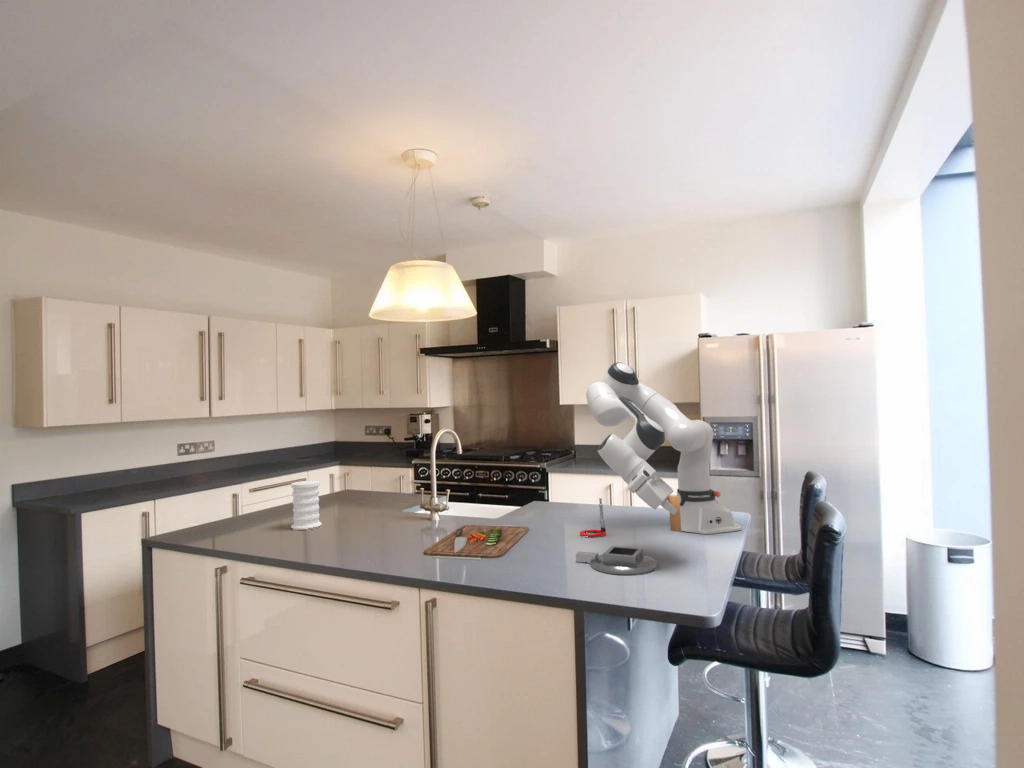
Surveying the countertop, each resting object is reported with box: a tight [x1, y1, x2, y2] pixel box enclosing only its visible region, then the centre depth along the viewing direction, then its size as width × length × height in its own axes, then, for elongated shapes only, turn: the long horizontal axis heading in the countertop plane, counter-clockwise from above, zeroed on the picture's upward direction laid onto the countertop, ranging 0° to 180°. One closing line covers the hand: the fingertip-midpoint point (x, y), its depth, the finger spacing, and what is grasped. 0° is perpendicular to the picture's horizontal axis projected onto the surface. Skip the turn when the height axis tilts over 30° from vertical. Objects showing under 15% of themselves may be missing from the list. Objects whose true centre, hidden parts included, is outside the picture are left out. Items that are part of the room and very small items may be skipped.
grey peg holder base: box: [575, 545, 658, 576], centre depth 169 cm, size 19×24×4 cm
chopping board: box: [423, 524, 530, 561], centre depth 201 cm, size 45×27×3 cm, turn 164°
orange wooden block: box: [669, 494, 682, 532], centre depth 171 cm, size 3×3×10 cm
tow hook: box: [578, 497, 607, 538], centre depth 206 cm, size 8×13×9 cm
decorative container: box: [290, 480, 323, 529], centre depth 233 cm, size 12×12×18 cm
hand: (677, 511), depth 170 cm, fingers closed on orange wooden block, 3 cm apart
